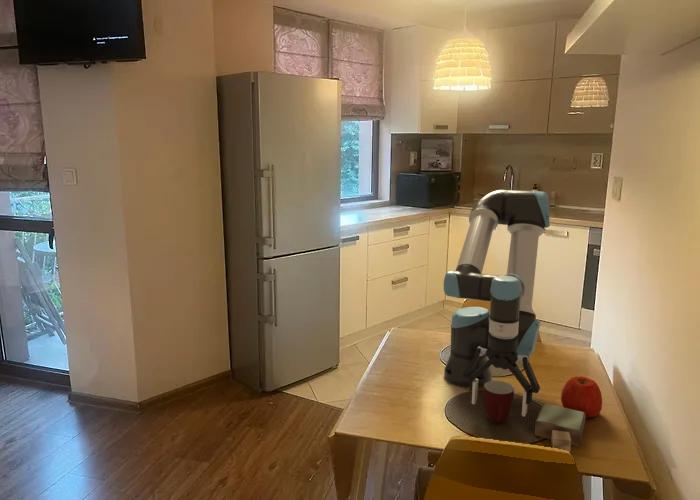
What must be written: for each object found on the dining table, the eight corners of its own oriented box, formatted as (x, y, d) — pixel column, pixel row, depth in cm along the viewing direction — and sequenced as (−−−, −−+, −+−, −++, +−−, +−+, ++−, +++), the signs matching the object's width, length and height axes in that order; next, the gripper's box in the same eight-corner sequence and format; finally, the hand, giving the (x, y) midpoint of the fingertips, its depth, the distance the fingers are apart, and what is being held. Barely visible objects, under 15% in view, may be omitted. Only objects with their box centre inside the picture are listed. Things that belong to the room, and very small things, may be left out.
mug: (518, 433, 141) (520, 398, 139) (488, 433, 141) (490, 398, 139) (507, 412, 152) (509, 380, 150) (479, 412, 152) (480, 380, 150)
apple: (560, 418, 149) (563, 383, 146) (559, 400, 159) (562, 367, 156) (602, 425, 145) (606, 389, 143) (599, 406, 155) (602, 372, 153)
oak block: (552, 452, 133) (554, 438, 132) (551, 444, 136) (552, 430, 136) (569, 455, 132) (571, 440, 131) (567, 446, 135) (568, 432, 135)
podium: (534, 434, 140) (535, 420, 140) (542, 416, 150) (543, 402, 149) (579, 446, 135) (580, 431, 134) (584, 426, 144) (585, 411, 143)
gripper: (453, 330, 144) (450, 402, 148) (549, 347, 132) (543, 425, 136) (462, 322, 150) (459, 392, 154) (554, 338, 138) (549, 413, 142)
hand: (498, 408), depth 145 cm, fingers open, 13 cm apart
